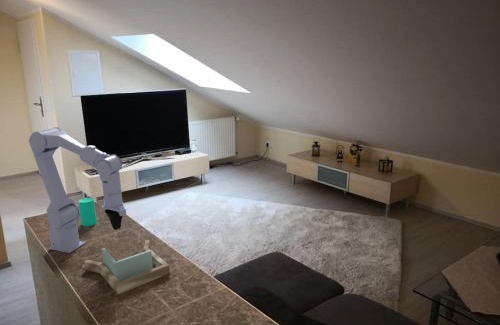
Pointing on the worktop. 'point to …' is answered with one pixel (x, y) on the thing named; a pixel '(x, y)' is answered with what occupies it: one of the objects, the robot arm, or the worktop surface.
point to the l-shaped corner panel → (128, 264)
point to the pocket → (136, 280)
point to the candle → (87, 211)
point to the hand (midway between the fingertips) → (116, 228)
